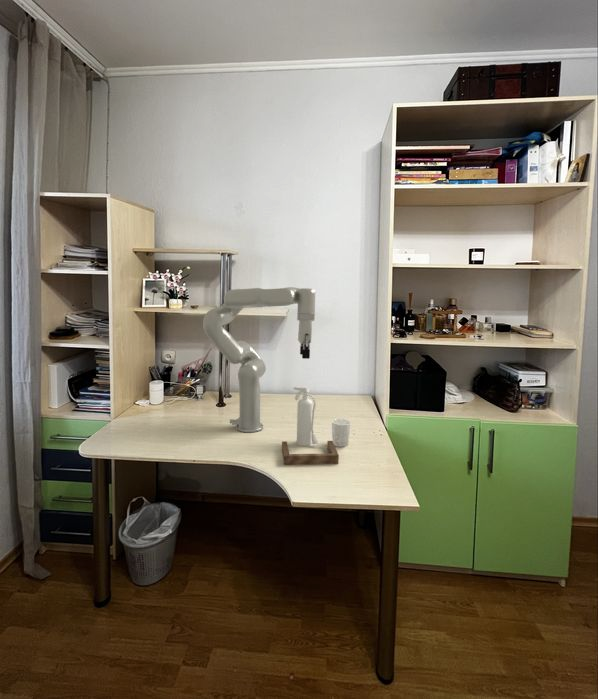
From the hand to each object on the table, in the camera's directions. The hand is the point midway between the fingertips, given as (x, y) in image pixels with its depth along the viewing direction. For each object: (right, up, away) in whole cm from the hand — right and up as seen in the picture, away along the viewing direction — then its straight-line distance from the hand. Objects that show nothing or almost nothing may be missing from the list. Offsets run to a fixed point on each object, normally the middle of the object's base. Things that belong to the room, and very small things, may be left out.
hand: (304, 356), depth 202 cm
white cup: (+15, -38, -5) cm, 41 cm away
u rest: (+2, -40, -19) cm, 44 cm away
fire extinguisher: (0, -38, -5) cm, 38 cm away
